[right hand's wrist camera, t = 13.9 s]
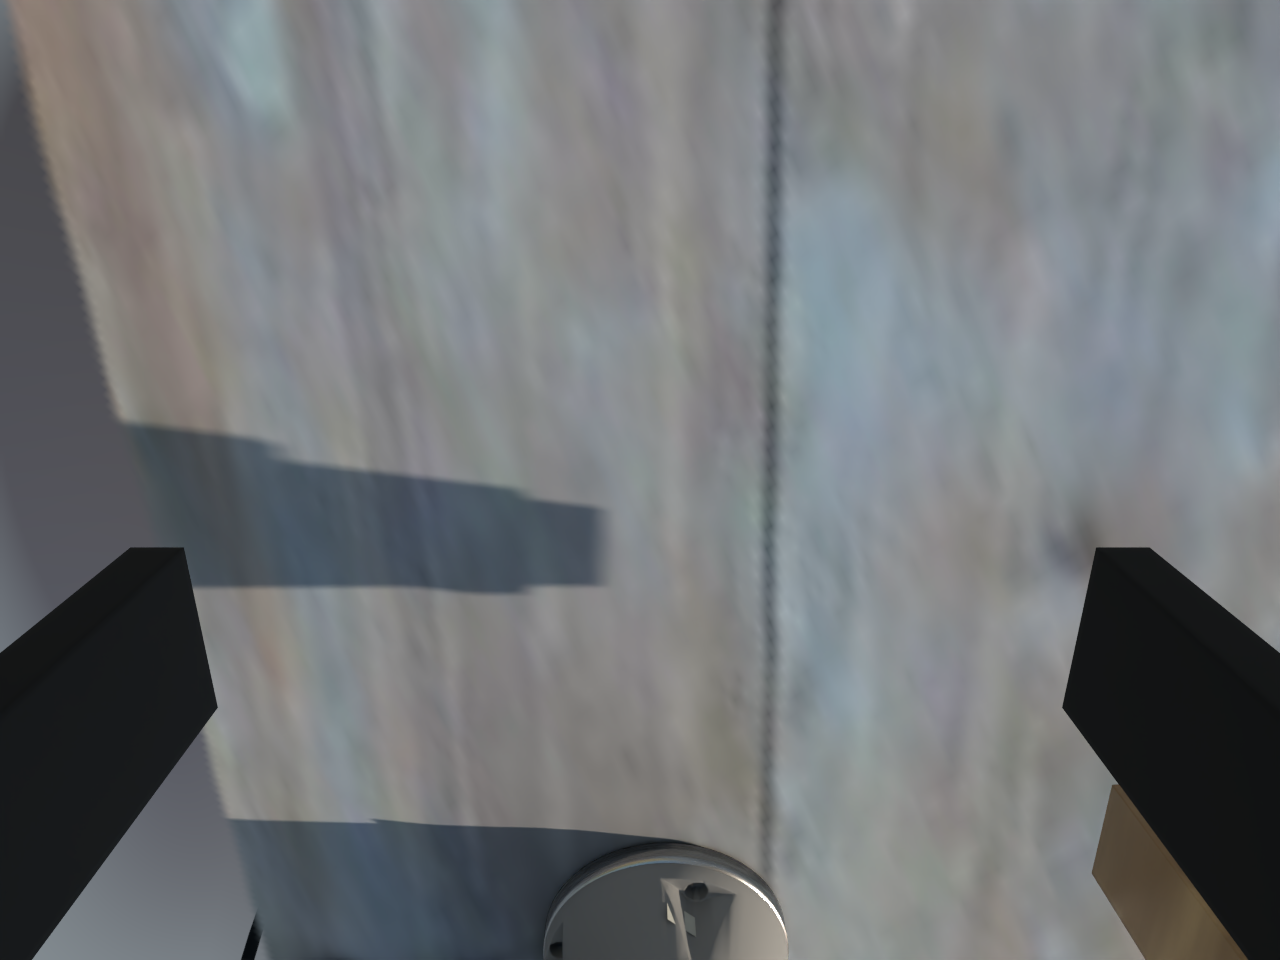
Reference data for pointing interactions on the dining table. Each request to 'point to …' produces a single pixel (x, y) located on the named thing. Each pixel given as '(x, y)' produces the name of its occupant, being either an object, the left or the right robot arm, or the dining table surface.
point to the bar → (1155, 891)
